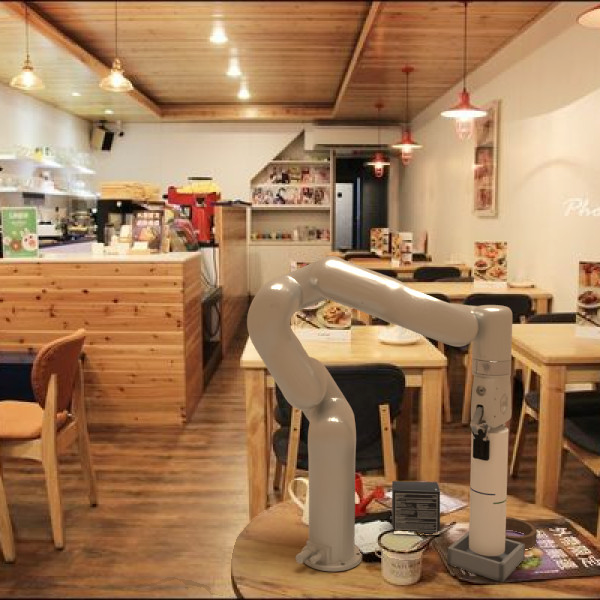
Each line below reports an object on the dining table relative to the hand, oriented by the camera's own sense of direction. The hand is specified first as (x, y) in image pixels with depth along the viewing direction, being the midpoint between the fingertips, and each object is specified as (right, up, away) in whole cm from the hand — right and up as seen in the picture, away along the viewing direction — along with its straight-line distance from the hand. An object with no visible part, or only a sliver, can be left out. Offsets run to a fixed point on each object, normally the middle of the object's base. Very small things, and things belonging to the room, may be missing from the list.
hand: (489, 453), depth 137 cm
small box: (-12, -22, +18) cm, 30 cm away
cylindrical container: (0, -20, +2) cm, 20 cm away
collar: (+8, -22, +12) cm, 26 cm away
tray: (0, -23, +2) cm, 23 cm away
